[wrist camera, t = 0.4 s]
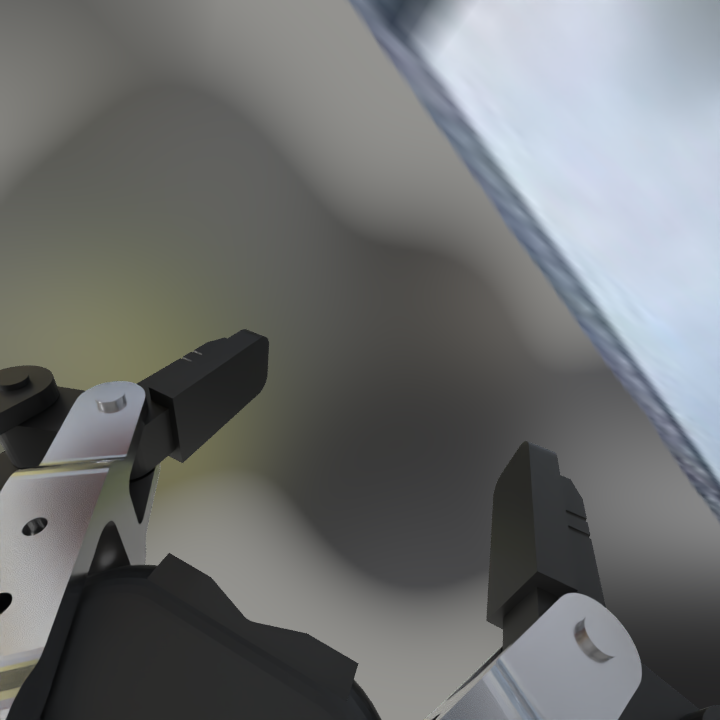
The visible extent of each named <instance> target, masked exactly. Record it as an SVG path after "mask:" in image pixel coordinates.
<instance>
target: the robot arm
mask: <svg viewBox="0 0 720 720" xmlns="http://www.w3.org/2000/svg"><path fill="white" fill-rule="evenodd" d="M268 353H269V341H268V339H267V338H266V337H264V336H262V335H259V334H257V333H254V332H252V331H249V330H246V329H243V330H241V331H239V332H238V333H236V334H234V335H233V336H231V337H229V338H228V339H227V338H221V339H218V340H215V341H210V342H207V343H206V344H204V345H202V346H200V347H199V348H197V349H195V350H194V352H190V353H188V354H187V355H185V356H183V358H182V359H179V360H176V361H175V362H173V363H171V364H170V365H168V366H166V367H165V368H163V369H161V370H159V371H158V372H156V373H154V374H153V375H151V376H149V377H147V378H146V379H144V380H142V381H141V382H139V383H137V384H135V383H131V382H126V381H114V382H108V383H103V384H100V385H97V386H94V387H92V388H90V389H88V390H86V391H83V390H77V389H70V388H63V387H58V386H57V385H56V382H55V379H54V377H53V374H52V373H51V371H49V370H48V369H46V368H43V367H39V366H16V367H10V368H6V369H2V370H0V443H1V445H2V447H3V448H4V450H5V451H4V452H2V453H1V454H0V720H381V718H380V716H379V714H378V713H377V711H376V709H375V707H374V705H373V703H372V702H371V701H370V699H369V698H368V696H367V695H366V693H365V692H364V691H363V689H362V688H361V687H360V686H359V685H358V684H357V683H356V681H355V680H354V676H355V673H356V669H357V666H358V663H356V662H355V661H353V660H351V659H350V658H348V657H346V656H344V655H343V654H341V653H339V652H337V651H336V650H334V649H332V648H331V647H329V646H327V645H326V644H324V643H322V642H320V641H319V640H317V639H315V638H314V637H312V636H310V635H309V634H307V633H302V632H297V631H293V630H288V629H283V628H278V627H274V626H269V625H264V624H260V623H255V622H252V621H249V620H248V619H246V618H245V617H244V616H243V614H242V613H241V612H240V611H239V610H238V609H237V608H236V606H235V605H234V604H233V603H232V601H231V600H230V599H229V598H228V597H227V596H226V594H225V593H224V592H223V591H222V590H221V589H220V588H219V586H218V585H217V584H216V583H215V581H214V580H213V579H212V578H211V577H209V576H208V575H206V574H204V573H202V572H201V571H199V570H197V569H196V568H194V567H192V566H191V565H189V564H187V563H186V562H184V561H182V560H180V559H179V558H177V557H175V556H173V555H172V554H170V553H169V554H168V555H167V556H166V557H165V558H164V559H163V560H162V562H161V563H160V564H159V565H158V566H156V565H145V561H146V532H147V527H148V522H149V518H150V513H151V509H152V504H153V500H154V495H155V491H156V486H157V481H158V477H159V472H160V462H161V461H162V460H164V459H165V458H166V457H167V456H170V457H172V458H174V459H176V460H178V461H180V462H182V463H183V462H184V461H185V460H186V459H187V458H189V457H190V456H191V455H192V454H193V453H194V452H195V451H196V450H197V449H199V448H200V447H201V446H202V445H203V444H204V443H205V442H206V441H207V440H208V439H210V438H211V437H212V436H213V435H214V434H215V433H216V432H217V431H218V430H219V429H221V428H222V427H223V426H224V425H225V424H226V423H227V422H228V421H229V420H230V419H232V418H233V417H234V416H235V415H236V414H237V413H238V412H239V411H240V410H241V409H243V408H244V407H245V406H246V405H247V404H248V403H249V402H250V401H251V400H252V399H253V398H255V397H256V396H257V395H258V394H259V393H260V392H261V390H262V389H263V387H264V385H265V383H266V379H267V371H268ZM491 528H492V529H491V548H490V566H489V583H488V602H487V603H488V604H487V621H488V622H490V623H492V624H494V625H496V626H497V627H500V628H501V629H503V646H501V647H500V648H499V649H498V650H497V651H496V652H495V653H494V654H493V655H492V656H491V657H489V658H488V659H487V660H486V661H485V662H484V663H483V664H482V665H481V666H480V667H479V668H478V669H477V670H476V671H475V672H474V673H473V674H472V675H471V676H470V677H469V678H468V679H466V680H465V682H463V683H462V685H460V686H459V687H458V688H457V689H456V690H455V691H454V692H453V693H452V694H451V695H450V696H449V697H448V698H447V699H446V700H445V701H443V702H442V703H441V704H440V705H439V706H438V707H437V708H436V709H435V710H434V711H433V712H431V714H429V715H428V716H427V717H426V718H425V719H424V720H720V706H719V705H715V706H711V707H708V708H705V709H702V710H699V709H698V708H697V707H696V706H694V705H693V704H692V703H690V702H689V701H688V700H687V699H685V698H684V697H683V696H682V695H680V694H679V693H678V692H677V691H676V690H674V689H673V688H672V687H671V686H670V685H668V684H667V683H666V682H664V681H663V680H662V679H661V678H660V677H658V676H657V675H656V674H655V673H653V672H652V671H651V670H650V669H649V668H648V667H646V666H645V665H644V664H643V663H642V662H641V661H640V657H639V655H638V652H637V649H636V647H635V645H634V643H633V641H632V639H631V638H630V636H629V634H628V632H627V631H626V630H625V628H624V627H623V626H622V624H621V623H620V622H619V621H618V619H616V617H615V616H614V615H613V614H612V613H611V612H610V611H609V610H608V609H606V606H605V602H604V597H603V593H602V588H601V583H600V579H599V575H598V569H597V565H596V560H595V555H594V551H593V546H592V542H591V539H590V538H589V536H590V532H589V527H588V523H587V522H586V514H585V509H584V504H583V499H582V498H581V496H580V494H579V493H578V491H577V489H576V488H575V486H574V484H573V483H572V481H571V480H570V479H568V478H566V477H563V476H561V475H560V472H559V465H558V458H557V455H556V453H555V452H553V451H550V450H548V449H545V448H543V447H540V446H538V445H535V444H533V443H530V442H528V441H524V442H523V443H522V444H521V445H520V447H519V448H518V450H517V451H516V453H515V454H514V456H513V457H512V459H511V460H510V461H509V463H508V465H507V466H506V468H505V469H504V471H503V472H502V473H501V475H500V477H499V479H498V481H497V483H496V486H495V490H494V494H493V510H492V527H491Z"/></svg>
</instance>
